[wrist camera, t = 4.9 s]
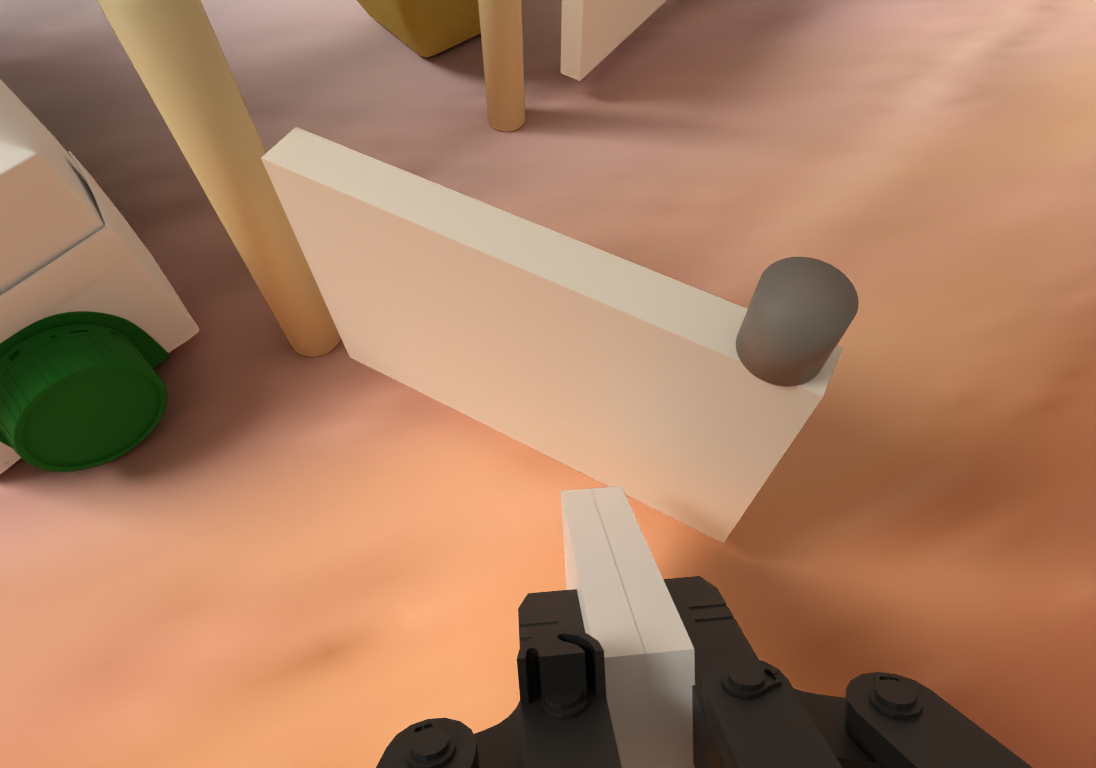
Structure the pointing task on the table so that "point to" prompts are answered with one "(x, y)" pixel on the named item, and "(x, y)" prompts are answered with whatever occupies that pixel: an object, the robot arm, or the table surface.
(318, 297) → the fence
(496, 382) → the gate
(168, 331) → the milk carton
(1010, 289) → the table surface
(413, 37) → the flower pot
